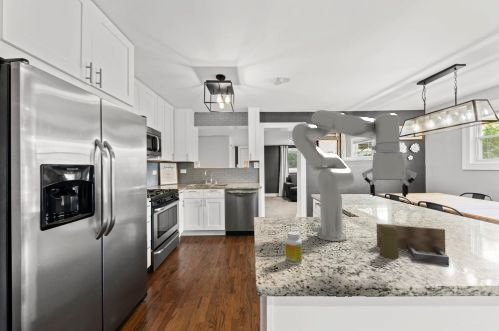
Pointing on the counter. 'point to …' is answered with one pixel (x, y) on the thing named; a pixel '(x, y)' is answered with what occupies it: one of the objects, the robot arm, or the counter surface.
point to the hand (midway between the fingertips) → (388, 196)
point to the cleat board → (420, 242)
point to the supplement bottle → (293, 248)
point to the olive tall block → (388, 242)
